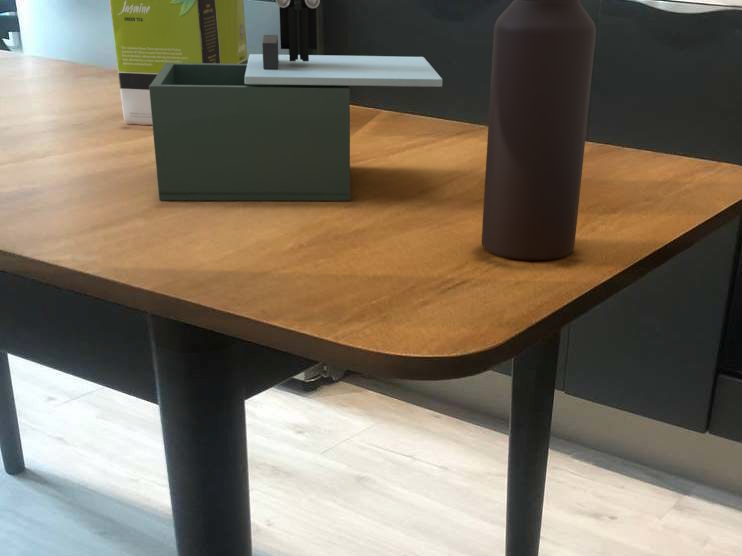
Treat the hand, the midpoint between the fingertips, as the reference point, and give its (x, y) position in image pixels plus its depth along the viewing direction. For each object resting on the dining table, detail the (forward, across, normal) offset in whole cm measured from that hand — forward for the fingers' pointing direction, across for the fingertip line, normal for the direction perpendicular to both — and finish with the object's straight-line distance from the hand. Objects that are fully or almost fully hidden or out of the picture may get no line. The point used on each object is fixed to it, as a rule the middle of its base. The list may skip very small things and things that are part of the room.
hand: (299, 58), depth 91 cm
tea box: (+10, -12, +33) cm, 37 cm away
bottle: (+10, +16, -21) cm, 28 cm away
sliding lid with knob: (+1, +3, 0) cm, 4 cm away
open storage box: (+10, -4, 0) cm, 11 cm away
